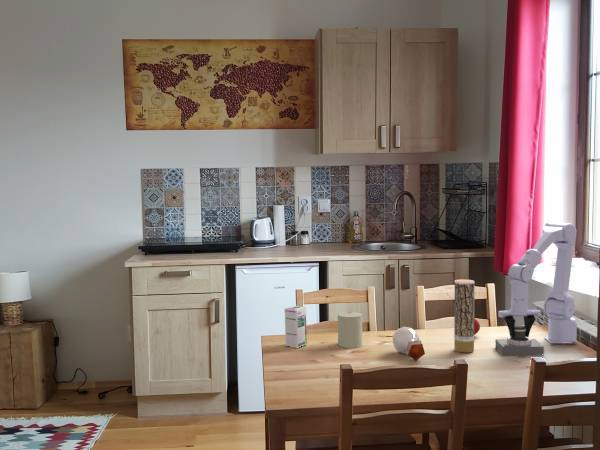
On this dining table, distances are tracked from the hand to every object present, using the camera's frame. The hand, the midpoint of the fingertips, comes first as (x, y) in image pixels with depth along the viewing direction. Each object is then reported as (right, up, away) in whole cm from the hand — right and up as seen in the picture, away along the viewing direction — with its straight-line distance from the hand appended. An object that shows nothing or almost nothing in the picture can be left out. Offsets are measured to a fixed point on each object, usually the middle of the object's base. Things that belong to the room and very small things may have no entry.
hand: (519, 336), depth 244 cm
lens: (0, -2, +1) cm, 2 cm away
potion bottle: (-39, -6, -2) cm, 39 cm away
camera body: (0, -5, +1) cm, 5 cm away
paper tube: (-19, -6, +2) cm, 20 cm away
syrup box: (-79, -6, +12) cm, 80 cm away
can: (-59, -5, +13) cm, 60 cm away
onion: (-11, -4, +22) cm, 25 cm away
